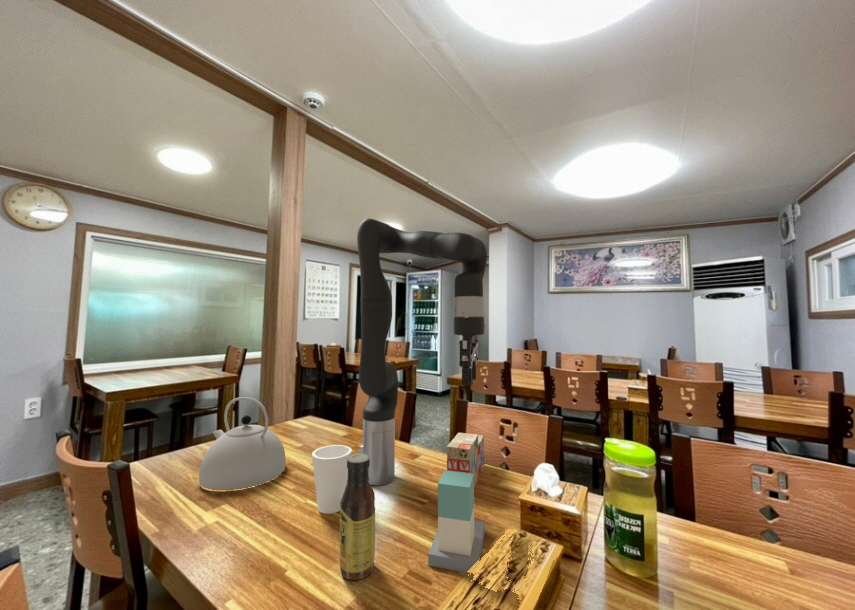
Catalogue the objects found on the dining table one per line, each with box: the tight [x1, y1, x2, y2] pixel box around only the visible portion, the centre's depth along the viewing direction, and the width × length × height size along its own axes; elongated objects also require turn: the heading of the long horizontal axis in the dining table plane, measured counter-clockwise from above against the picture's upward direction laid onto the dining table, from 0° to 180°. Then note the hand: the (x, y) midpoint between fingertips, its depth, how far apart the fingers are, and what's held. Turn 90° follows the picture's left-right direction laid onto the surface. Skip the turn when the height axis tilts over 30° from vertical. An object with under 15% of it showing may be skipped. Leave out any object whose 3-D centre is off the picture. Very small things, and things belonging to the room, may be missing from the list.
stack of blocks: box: [446, 432, 485, 488], centre depth 97 cm, size 21×6×12 cm, turn 160°
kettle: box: [198, 396, 286, 490], centre depth 101 cm, size 25×23×22 cm
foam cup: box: [311, 444, 353, 515], centre depth 82 cm, size 10×9×13 cm
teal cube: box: [437, 470, 475, 521], centre depth 65 cm, size 6×6×6 cm
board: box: [427, 519, 486, 574], centre depth 66 cm, size 9×13×2 cm
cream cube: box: [437, 506, 475, 556], centre depth 65 cm, size 6×6×6 cm
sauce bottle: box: [338, 453, 376, 581], centre depth 60 cm, size 6×6×20 cm
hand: (469, 382), depth 81 cm, fingers open, 8 cm apart
